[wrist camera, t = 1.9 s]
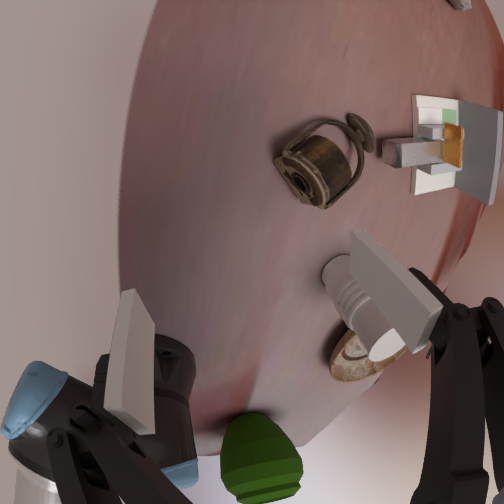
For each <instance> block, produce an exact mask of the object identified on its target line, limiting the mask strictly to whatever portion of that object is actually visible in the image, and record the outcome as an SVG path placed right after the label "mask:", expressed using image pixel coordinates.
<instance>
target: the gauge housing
mask: <svg viewBox="0 0 504 504" xmlns="http://www.w3.org/2000/svg"><path fill="white" fill-rule="evenodd" d="M411 95H412V94H411ZM412 114H413V137H427V138H430V139H441V140H444V133H445V122H448V123H451V124H455V125H458V126H461V127H464V128H463V151H462V164H461V168H457V167H455V166H453V165H450V164H448V163H446V162H438V163H430V164H422V165H415V166H412V181H411V193H412V194H414V195H418V194H422V193H426V192H431V191H435V190H440V189H444V188H449V187H453V186H454V187H456V188H458V189H460V190H462V191H464V192H465V193H467V194H469V195H471V196H472V197H474V198H476V199H477V200H479V201H481V202H482V203H484V204H486V205H487V206H489V205H492V204H493V203H494V197H495V192H496V187H497V180H498V174H499V166H500V157H501V146H502V128H503V112H501V111H498V110H495V109H492V108H488V107H485V106H481V105H477V104H473V103H469V102H465V101H461V100H455V99H448V98H441V97H433V96H423V95H412Z"/></svg>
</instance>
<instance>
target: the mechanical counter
mask: <svg viewBox="0 0 504 504" xmlns="http://www.w3.org/2000/svg"><path fill="white" fill-rule="evenodd" d="M348 123H349V126H348V125H347V124H346V123H343V122H341V121H338V120H323V121H320V122H318V123H316V124H314V125H313V126H311V127H310V128H309V129H307V130H306V131H305V132H303V133H302V134H301V135H299V136H298V137H296V138H295V139H294V140H292V141H291V142H290V143H289V144H287V145H286V146H285V147H284V148H283V149H282V155H283V156H281V157H278V158H275V159H274V160H273V162H274V164H275V165H276V167H277V168H278V169H279V171H280V172H281V174H282V175H283V177H284V178H285V180H286V181H287V183H288V184H289V186H290V187H291V189H292V190H293V191H294V193H295V194H296V196H297V197H298V198H299V200H300V201H301V203H303V204H309V205H313V206H317V207H319V208H320V209H327V208H329V207H330V206H332V205H333V204H334V203H335V202H336V201H337V200H338V199H339V198H340V197H341V196H343V195H344V194H345V193H346V192H347V191H348V190H349V189H350V188H351V187H352V186H353V185H355V183H356V182H357V181H358V180H359V178H360V176H361V173H362V170H363V167H364V151H363V149H364V150H365V151H366V152H368V153H371V152H373V151H374V149H375V138H374V134H373V131H372V129H371V127H370V126H369V124H368V123H367V122H366V121H365V120H364V119H362V118H361V117H360V116H358V115H356V114H350V115H349V117H348ZM324 124H330V125H336V126H338V127H340V128H342V129H343V130H345V131H346V132H347V134H348V135H349V136H350V138H351V140H352V142H353V143H354V145H355V147H356V150H357V155H358V164H357V168H356V171H355V174H354V176H353V177H352V178H351V176H352V172H351V167H350V164H349V162H348V159H347V158H346V156H345V155H344V153H343V152H342V150H341V149H340V148H339V147H338V146H337V145H336V144H335V143H334V142H332V141H331V140H329V139H327V138H325V137H322V136H319V135H314V136H312V137H310V138H309V139H307V140H306V141H305V142H303V143H302V144H301V145H299V146H298V147H297V148H295V149H294V150H293V151H290V149H291V148H292V147H294V146H295V145H296V144H298V143H299V142H300V141H302V140H303V139H304V138H306V137H307V136H308V135H309V134H311V133H312V132H313V131H315V130H316V129H317V128H319V127H320V126H322V125H324Z"/></svg>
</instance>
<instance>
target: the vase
mask: <svg viewBox="0 0 504 504" xmlns="http://www.w3.org/2000/svg"><path fill="white" fill-rule="evenodd" d="M220 467H221V479H222V481H223V483H224V485H225V487H226V489H227V491H229V492H230V493H232V494H233V495H235V496H236V499H237V502H240V503H243V504H264V503H269V502H274V501H278V500H282V499H285V498H288V497H291V496H294V495H295V493H296V492H297V491H298V490H299V489H300V488H301V486H300V484H299V481H300V479H301V477H302V475H303V464H302V459H301V457H300V455H299V454H298V452H297V450H296V449H295V447H294V445H293V443H292V441H291V440H290V439H289V438H288V436H287V435H286V434H285V433H284V432H283V431H282V429H281V428H280V427H279V426H278V425H277V424H276V423H274V422H273V421H272V420H271V419H270V418H268V417H266V416H264V415H262V414H259V413H248V414H244V415H241V416H238V417H237V418H235V419H234V420H232V422H231V423H230V425H229V426H228V428H227V431H226V433H225V435H224V438H223V443H222V448H221V454H220Z"/></svg>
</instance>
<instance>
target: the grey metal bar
mask: <svg viewBox="0 0 504 504" xmlns="http://www.w3.org/2000/svg"><path fill="white" fill-rule="evenodd" d="M463 128H464V127H461V126H458V125H455V124H451V123H448V122H445V133H444V140H441V139H430V138H427V137H411V138H396V139H383V140H382V162H383V163H385V164H388V165H390V166H392V167H394V168H401V167H408V166H415V165H422V164H430V163H438V162H446V163H448V164H450V165H453V166H455V167H457V168H461V164H462V151H463Z"/></svg>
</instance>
